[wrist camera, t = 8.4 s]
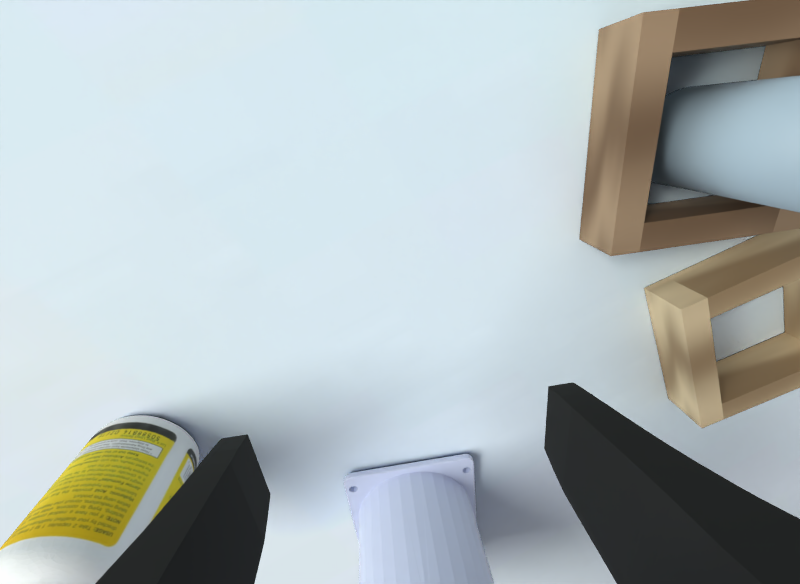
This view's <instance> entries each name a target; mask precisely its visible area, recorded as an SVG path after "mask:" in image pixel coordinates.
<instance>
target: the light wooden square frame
mask: <svg viewBox="0 0 800 584" xmlns="http://www.w3.org/2000/svg"><path fill="white" fill-rule="evenodd" d="M782 286H783V289H784V323H785V332H784V333H782V334H780V335H778V336H775V337H773V338H771V339H768V340H766V341H764V342H761V343H759V344H757V345H755V346H752V347H750V348H748V349H745V350H743V351H741V352H738V353H736V354H734V355H732V356H729V357H727V358H725V359H722V360H720V361H718V362H716V357H715V350H714V342H713V335H712V327H711V320H710V319H711V318H713V317H715V316H717V315H720V314H722V313H724V312H726V311H729V310H731V309H733V308H735V307H738V306H740V305H742V304H744V303H747V302H749V301H751V300H753V299H755V298H758V297H760V296H762V295H764V294H767V293H769V292H771V291H773V290H776V289H778V288H780V287H782ZM644 290H645V294H646V299H647V303H648V308H649V313H650V317H651V322H652V326H653V331H654V335H655V340H656V344H657V349H658V354H659V358H660V363H661V367H662V372H663V376H664V381H665V385H666V390H667V395H668V399H670V400H671V401H672V402H673V403H674V404H675V405H676V406H677V407H679V408H680V409H681V410H682V411H683V412H684V413H685V414H686V415H688V416H689V417H690V418H691V419H692V420H693V421H694V422H695V423H696V424H698V425H699V426H700V427H701V428H704V427H706V426H709V425H711V424H713V423H716V422H718V421H721V420H723V419H725V418H728V417H730V416H733V415H735V414H737V413H740V412H742V411H745V410H747V409H749V408H752V407H754V406H757V405H759V404H761V403H764V402H766V401H769V400H771V399H773V398H776V397H778V396H781V395H783V394H785V393H788V392H790V391H793V390H795V389H797V388H800V229H795V230H788V231H781V232H774V233H767V234H760V235H757V236H755V237H753V238H751V239H749V240H747V241H744V242H742V243H740V244H738V245H736V246H734V247H732V248H729V249H727V250H725V251H723V252H721V253H719V254H716V255H714V256H712V257H710V258H708V259H706V260H704V261H701V262H699V263H697V264H695V265H693V266H691V267H688V268H686V269H684V270H682V271H680V272H678V273H676V274H673V275H671V276H669V277H667V278H665V279H663V280H660V281H658V282H656V283H654V284H652V285H650V286H648V287H645V288H644Z"/></svg>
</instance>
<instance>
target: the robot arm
mask: <svg viewBox="0 0 800 584" xmlns="http://www.w3.org/2000/svg"><path fill="white" fill-rule="evenodd" d="M544 449H545V451H546V453H547V456H548V458H549V460H550V463H551V465H552V467H553V470H554V472H555V474H556V476H557V479H558V481H559V483H560V485H561V487H562V489H563V491H564V493H565V495H566V497H567V498H568V500H569V502H570V504H571V505H572V507H573V509H574V511H575V512H576V514H577V516H578V518H579V519H580V521H581V523H582V525H583V526H584V528H585V530H586V531H587V533H588V535H589V536H590V538H591V540H592V542H593V543H594V545H595V547H596V548H597V550H598V552H599V554H600V555H601V557H602V559H603V560H604V562H605V564H606V565H607V567H608V569H609V571H610V572H611V574H612V576H613V577H614V579H615V581H616V583H617V584H800V519H799V518H797V517H795V516H793V515H791V514H789V513H787V512H785V511H783V510H781V509H779V508H778V507H776V506H774V505H772V504H770V503H768V502H766V501H764V500H762V499H760V498H758V497H757V496H755V495H753V494H751V493H749V492H748V491H746V490H744V489H742V488H740V487H738V486H737V485H735V484H733V483H731V482H730V481H728V480H726V479H725V478H723V477H721V476H719V475H718V474H716V473H714V472H713V471H711V470H709V469H707V468H706V467H704V466H702V465H701V464H699V463H697V462H696V461H694V460H692V459H691V458H689V457H687V456H686V455H684V454H682V453H681V452H679V451H678V450H676V449H674V448H673V447H671V446H669V445H668V444H666V443H665V442H663V441H662V440H660V439H658V438H657V437H655V436H654V435H652V434H651V433H649V432H647V431H646V430H644V429H643V428H641V427H640V426H638V425H637V424H635V423H634V422H632V421H631V420H629V419H628V418H626V417H625V416H623V415H622V414H620V413H619V412H617V411H616V410H614V409H613V408H611V407H610V406H608V405H607V404H605V403H604V402H602V401H601V400H599V399H598V398H596V397H595V396H593V395H592V394H590V393H589V392H587V391H586V390H584V389H583V388H581V387H579V386H578V385H576V384H575V383H567V384H561V385H555V386H549V388H548V403H547V417H546V432H545V446H544ZM465 467H466V468H465ZM352 486H354V487H352ZM344 487H345V491H346V495H347V499H348V503H349V507H350V510H351V514H352V518H353V522H354V526H355V530H356V534H357V538H358V542H359V584H494V581H493V578H492V574H491V571H490V567H489V564H488V561H487V557H486V554H485V550H484V547H483V544H482V540H481V537H480V533H479V530H478V527H477V523H476V500H475V475H474V461H473V458H472V456H471V455H469V454H461V455H455V456H449V457H443V458H437V459H431V460H425V461H419V462H413V463H407V464H401V465H395V466H389V467H383V468H377V469H371V470H365V471H359V472H353V473H349V474H347V475H346V476H345V477H344ZM269 501H270V492H269V489H268V487H267V484H266V481H265V479H264V476H263V474H262V471H261V468H260V466H259V463H258V461H257V458H256V455H255V453H254V450H253V447H252V445H251V442H250V440H249V437H248V435H242V436H235V437H229V438H223V439H221V440H220V441H219V442H218V443H217V444H216V445H215V447H214V448H213V449H212V450H211V451H210V452H209V454H208V455H207V456H206V457H205V458H204V460H203V461H202V462H201V463H200V464H199V466H198V467H197V468H196V469H195V470H194V472H193V473H192V474H191V475H190V476H189V478H188V479H187V480H186V481H185V482H184V484H183V485H182V486H181V487H180V488H179V490H178V491H177V492H176V493H175V494H174V496H173V497H172V498H171V499H170V500H169V501H168V503H167V504H166V505H165V506H164V507H163V508H162V510H161V511H160V512H159V513H158V514H157V515H156V517H155V518H154V519H153V520H152V521H151V522H150V524H149V525H148V526H147V527H146V528H145V529H144V531H143V532H142V533H141V534H140V535H139V536H138V537H137V538H136V539H135V541H134V542H133V543H132V544H131V545H130V546H129V547H128V548H127V549H126V550H125V551H124V553H123V554H122V555H121V556H120V557H119V558H118V559H117V560H116V561H115V562H114V564H113V565H112V566H111V567H110V568H109V569H108V570H107V571H106V572H105V573H104V575H103V576H102V577H101V578H100V579H99V580H98V581H97V582H96V583H95V584H254V582H255V578H256V574H257V570H258V566H259V562H260V557H261V553H262V549H263V545H264V539H265V532H266V525H267V518H268V510H269Z"/></svg>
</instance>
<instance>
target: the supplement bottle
mask: <svg viewBox="0 0 800 584" xmlns="http://www.w3.org/2000/svg"><path fill="white" fill-rule="evenodd" d="M198 463H199V449H198V447H197V444H196V443H195V441H194V439H193V438H192V437H191V436H190V435H189V434H188V433H187V432H186V431H185V430H184V429H182V428H181V427H179V426H178V425H176V424H174V423H172V422H170V421H167V420H165V419H162V418H158V417H153V416H145V415H136V416H127V417H123V418H119V419H117V420H114V421H112V422H110V423H108V424H107V425H105V426H104V427H103V428H101V429H100V430H99V431H98V432H97V433H96V434H95V435H94V436H93V437H92V438H91V439H90V441H89V442H88V443H87V445H86V446H85V447H84V448H83V449H82V450H81V452H80V453H79V454H78V455H77V456H76V458H75V459H74V460H73V461H72V462H71V464H70V465H69V466H68V467H67V468H66V470H65V471H64V472H63V473H62V475H61V476H60V477H59V478H58V479H57V480H56V482H55V483H54V484H53V485H52V487H51V488H50V489H49V490H48V491H47V493H46V494H45V495H44V496H43V497H42V499H41V500H40V501H39V502H38V503H37V505H36V506H35V507H34V508H33V509H32V511H31V512H30V513H29V514H28V516H27V517H26V518H25V519H24V520H23V522H22V523H21V524H20V525H19V526H18V528H17V529H16V530H15V531H14V532H13V534H12V535H11V536H10V537H9V538H8V540H7V541H6V542H5V543H4V544H3V546H2V547H1V548H0V584H95V583H96V582H97V581H98V580H99V579H100V578H101V577H102V576H103V575H104V573H105V572H106V571H107V570H108V569H109V568H110V567H111V566H112V565H113V564H114V562H115V561H116V560H117V559H118V558H119V557H120V556H121V555H122V554H123V553H124V551H125V550H126V549H127V548H128V547H129V546H130V545H131V544H132V543H133V542H134V541H135V539H136V538H137V537H138V536H139V535H140V534H141V533H142V532H143V531H144V529H145V528H146V527H147V526H148V525H149V524H150V522H151V521H152V520H153V519H154V518H155V517H156V515H157V514H158V513H159V512H160V511H161V510H162V508H163V507H164V506H165V505H166V504H167V503H168V501H169V500H170V499H171V498H172V497H173V496H174V494H175V493H176V492H177V491H178V490H179V488H180V487H181V486H182V485H183V484H184V482H185V481H186V480H187V479H188V478H189V476H190V475H191V474H192V473H193V472H194V470H195V469H196V468H197V467H198Z"/></svg>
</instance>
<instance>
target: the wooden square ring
mask: <svg viewBox="0 0 800 584" xmlns="http://www.w3.org/2000/svg"><path fill="white" fill-rule="evenodd" d="M761 46H766V47H765V51H764V55H763V59H762V63H761V67H760V71H759V75H758V79H757V80H761V79H771V78H781V77H791V76H800V0H748V1H739V2H730V3H722V4H713V5H704V6H696V7H687V8H678V9H669V10H661V11H652V12H643V13H641V14H638V15H635V16H633V17H630V18H628V19H625V20H622V21H620V22H617V23H614V24H612V25H609V26H607V27H604V28H601V29H599V35H598V46H597V57H596V67H595V78H594V89H593V100H592V110H591V121H590V132H589V142H588V153H587V164H586V174H585V185H584V196H583V207H582V217H581V228H580V240H582V241H584V242H585V243H587V244H589V245H591V246H593V247H595V248H597V249H599V250H600V251H602V252H604V253H606V254H608V255H610V256H615V255H622V254H629V253H636V252H643V251H650V250H657V249H664V248H671V247H677V246H684V245H691V244H698V243H705V242H712V241H719V240H726V239H733V238H740V237H747V236H753V235H760V234H767V233H774V232H781V231H788V230H795V229H800V212H795V211H790V210H785V209H780V208H775V207H770V206H766V205H761V204H756V203H751V202H746V201H741V200H737V199H732V198H727V197H722V196H717V195H713V196H706V197H699V198H692V199H685V200H677V201H670V202H663V203H656V204H649V205H647V202H648V196H649V190H650V184H651V178H652V172H653V166H654V160H655V154H656V148H657V142H658V136H659V130H660V124H661V118H662V112H663V106H664V100H665V94H666V88H667V82H668V76H669V70H670V64H671V58H672V57H678V56H686V55H694V54H703V53H711V52H719V51H728V50H736V49H744V48H752V47H761Z"/></svg>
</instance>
